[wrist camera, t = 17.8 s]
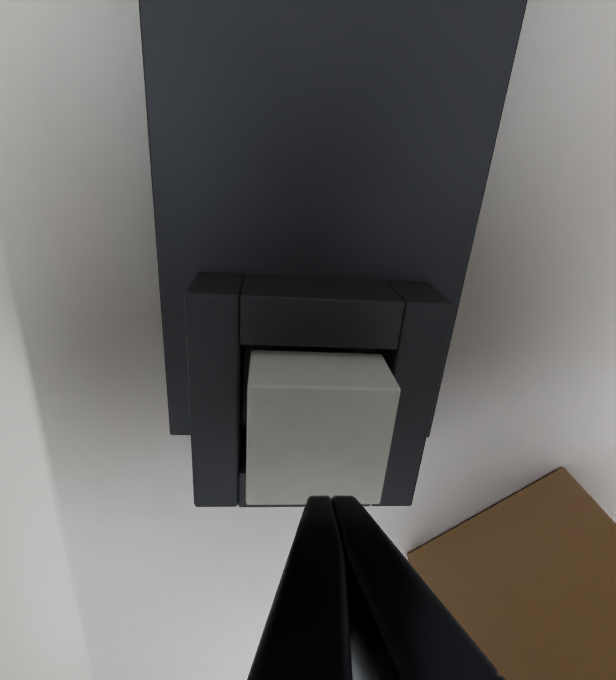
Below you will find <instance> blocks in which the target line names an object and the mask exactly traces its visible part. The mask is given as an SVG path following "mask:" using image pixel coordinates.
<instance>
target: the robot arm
mask: <svg viewBox="0 0 616 680" xmlns="http://www.w3.org/2000/svg"><path fill="white" fill-rule="evenodd" d="M247 680H506V679H505V678H504V677H503V676H502V675H499V676H498V670H497V669H496V667H495V666H494V665H493V664H492V663H491V661H490V660H489V659H488V658H487V656H486V655H485V654H484V653H483V652H482V650H481V649H480V648H479V647H478V646H477V644H476V643H475V642H474V641H473V639H472V638H471V637H470V636H469V635H468V633H467V632H466V631H465V630H464V629H463V627H462V626H461V625H460V624H459V622H458V621H457V620H456V619H455V618H454V616H453V615H452V614H451V613H450V612H449V610H448V609H447V608H446V607H445V605H444V604H443V603H442V602H441V601H440V599H439V598H438V597H437V596H436V595H435V593H434V592H433V591H432V590H431V588H430V587H429V586H428V585H427V584H426V582H425V581H424V580H423V579H422V578H421V576H420V575H419V574H418V573H417V571H416V570H415V569H414V568H413V567H412V565H411V564H410V563H409V562H408V561H407V559H406V558H405V557H404V556H403V554H402V553H401V552H400V551H399V550H398V548H397V547H396V546H395V545H394V544H393V542H392V541H391V540H390V539H389V537H388V536H387V535H386V534H385V533H384V531H383V530H382V529H381V528H380V527H379V525H378V524H377V523H376V522H375V520H374V519H373V518H372V517H371V516H370V514H369V513H368V512H367V511H366V510H365V508H364V507H363V506H362V505H361V503H360V502H359V501H358V500H357V499H356V498H355V497H354V496H351V495H335V496H333V497H332V498H330V496H327V495H318V496H309V497H308V499H307V502H306V505H305V508H304V511H303V514H302V517H301V520H300V523H299V526H298V529H297V532H296V535H295V538H294V541H293V544H292V547H291V550H290V553H289V556H288V559H287V562H286V565H285V568H284V571H283V574H282V577H281V580H280V583H279V586H278V589H277V592H276V595H275V598H274V601H273V604H272V607H271V610H270V613H269V616H268V619H267V622H266V625H265V628H264V631H263V634H262V637H261V640H260V643H259V646H258V649H257V652H256V655H255V658H254V661H253V664H252V667H251V670H250V673H249V676H248V679H247Z"/></svg>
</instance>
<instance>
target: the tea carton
mask: <svg viewBox="0 0 616 680" xmlns="http://www.w3.org/2000/svg"><path fill="white" fill-rule="evenodd" d="M407 557H408V560H409V563H410V564H411V565H412V567H413V568H414V569H415V570H416V571H417V573H418V574H419V575H420V576H421V578H422V579H423V580H424V581H425V582H426V584H427V585H428V586H429V587H430V588H431V590H432V591H433V592H434V593H435V595H436V596H437V597H438V598H439V599H440V601H441V602H442V603H443V604H444V605H445V607H446V608H447V609H448V610H449V612H450V613H451V614H452V615H453V616H454V618H455V619H456V620H457V621H458V622H459V624H460V625H461V626H462V627H463V629H464V630H465V631H466V632H467V633H468V635H469V636H470V637H471V638H472V639H473V641H474V642H475V643H476V644H477V646H478V647H479V648H480V649H481V650H482V652H483V653H484V654H485V655H486V656H487V658H488V659H489V660H490V661H491V663H492V664H493V665H494V666H495V667H496V669H497V670H498V676H499V675H502V676H503V677H504V678H505V679H506V680H616V523H615V522H614V521H613V520H612V519H611V518H610V517H609V516H608V515H607V514H606V513H605V511H604V510H603V509H602V508H601V507H600V506H599V505H598V504H597V503H596V502H595V501H594V500H593V498H592V497H591V496H590V495H589V494H588V493H587V492H586V491H585V490H584V489H583V488H582V487H581V485H580V484H579V483H578V482H577V481H576V480H575V479H574V478H573V477H572V476H571V475H570V474H569V473H568V471H567V470H566V469H565V468H560V469H558V470H557V471H555V472H553V473H551V474H550V475H548V476H546V477H544V478H542V479H541V480H539V481H537V482H535V483H534V484H532V485H530V486H528V487H526V488H525V489H523V490H521V491H519V492H518V493H516V494H514V495H512V496H510V497H509V498H507V499H505V500H503V501H501V502H500V503H498V504H496V505H494V506H493V507H491V508H489V509H487V510H485V511H484V512H482V513H480V514H478V515H477V516H475V517H473V518H471V519H469V520H468V521H466V522H464V523H462V524H461V525H459V526H457V527H455V528H453V529H452V530H450V531H448V532H446V533H445V534H443V535H441V536H439V537H437V538H436V539H434V540H432V541H430V542H429V543H427V544H425V545H423V546H421V547H420V548H418V549H416V550H414V551H413V552H411V553H409V554H408V555H407Z"/></svg>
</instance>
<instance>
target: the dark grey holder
mask: <svg viewBox="0 0 616 680" xmlns="http://www.w3.org/2000/svg"><path fill="white" fill-rule="evenodd" d="M526 5H527V0H139V13H140V27H141V40H142V54H143V68H144V81H145V95H146V109H147V122H148V136H149V150H150V164H151V177H152V191H153V205H154V218H155V232H156V246H157V259H158V273H159V287H160V300H161V314H162V328H163V341H164V355H165V369H166V383H167V396H168V410H169V424H170V434H171V435H191V448H192V468H193V489H194V504H195V506H197V507H235V506H237V505H238V503H239V507H305V505H247V504H246V448H247V386H248V376H249V367H250V357H251V352H252V350H268V351H301V352H335V353H368V354H381V355H382V356H383V358H384V360H385V361H386V363H387V365H388V367H389V369H390V371H391V372H392V374H393V376H394V378H395V380H396V382H397V384H398V385H399V387H400V390H401V391H400V397H399V402H398V408H397V413H396V419H395V424H394V430H393V435H392V441H391V446H390V452H389V457H388V463H387V468H386V473H385V479H384V484H383V490H382V495H381V501H380V503H379V504H371V505H372V506H410V505H411V504H412V500H413V495H414V491H415V486H416V482H417V477H418V473H419V468H420V464H421V459H422V455H423V450H424V446H425V441H426V437H429V435H430V430H431V426H432V422H433V417H434V413H435V408H436V404H437V399H438V395H439V391H440V386H441V382H442V377H443V373H444V368H445V364H446V359H447V355H448V351H449V346H450V342H451V337H452V333H453V328H454V324H455V320H456V315H457V311H458V306H459V302H460V297H461V293H462V289H463V284H464V280H465V275H466V271H467V266H468V262H469V257H470V253H471V249H472V244H473V240H474V235H475V231H476V226H477V222H478V218H479V213H480V209H481V204H482V200H483V195H484V191H485V187H486V182H487V178H488V173H489V169H490V164H491V160H492V155H493V151H494V147H495V142H496V138H497V133H498V129H499V124H500V120H501V116H502V111H503V107H504V102H505V98H506V93H507V89H508V85H509V80H510V76H511V71H512V67H513V62H514V58H515V53H516V49H517V45H518V40H519V36H520V31H521V27H522V22H523V18H524V14H525V9H526ZM361 505H362V506H370V504H361Z"/></svg>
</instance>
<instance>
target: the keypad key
mask: <svg viewBox="0 0 616 680" xmlns="http://www.w3.org/2000/svg"><path fill="white" fill-rule="evenodd" d="M400 391H401V390H400V387H399V385H398V384H397V382H396V380H395V378H394V376H393V374H392V372H391V371H390V369H389V367H388V365H387V363H386V361H385V360H384V358H383V356H382V355H381V354H368V353H335V352H301V351H268V350H252V352H251V357H250V367H249V376H248V386H247V448H246V504H247V505H306V502H307V499H308V497H309V496H318V495H327V496H330V498H332V497H333V496H335V495H351V496H354V497H355V498H356V499H357V500H358V501H359V502H360V503H361V504H379V503H380V501H381V495H382V490H383V484H384V479H385V473H386V468H387V463H388V457H389V452H390V446H391V441H392V435H393V430H394V424H395V419H396V413H397V408H398V402H399V397H400Z"/></svg>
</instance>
